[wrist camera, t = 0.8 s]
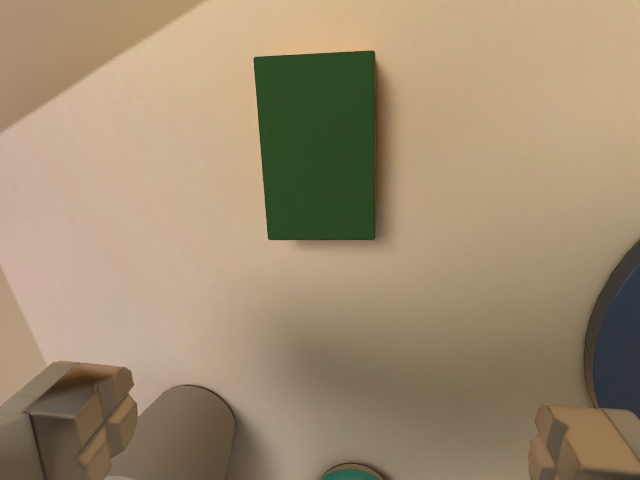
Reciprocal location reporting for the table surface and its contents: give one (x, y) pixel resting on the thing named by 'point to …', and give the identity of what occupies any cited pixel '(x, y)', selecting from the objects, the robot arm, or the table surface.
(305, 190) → the sponge
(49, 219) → the table surface
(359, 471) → the beverage can
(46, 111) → the table surface
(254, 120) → the table surface
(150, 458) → the cup
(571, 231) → the table surface
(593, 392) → the plate
